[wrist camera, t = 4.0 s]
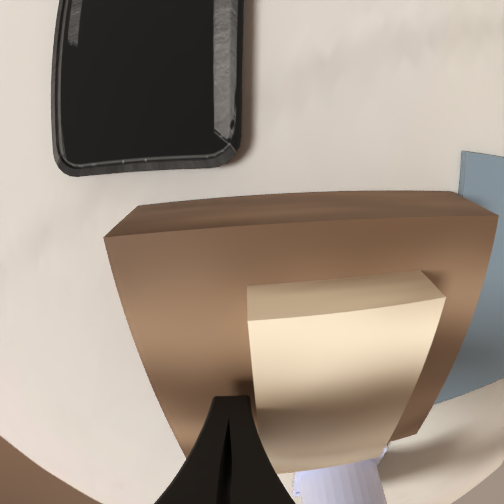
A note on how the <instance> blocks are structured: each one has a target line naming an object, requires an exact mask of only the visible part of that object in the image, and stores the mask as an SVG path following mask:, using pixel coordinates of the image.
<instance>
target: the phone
mask: <svg viewBox="0 0 504 504" xmlns="http://www.w3.org/2000/svg"><path fill="white" fill-rule="evenodd" d="M243 6H244V0H59V6H58V12H57V19H56V27H55V35H54V45H53V58H52V77H51V123H52V143H53V154H54V159H55V162H56V164H57V166H58V167H59V169H60V170H61V171H62V172H63V173H65V174H67V175H69V176H74V177H80V176H89V175H99V174H110V173H122V172H135V171H151V170H169V169H196V168H213V167H219V166H221V165H223V164H225V163H227V162H228V161H229V160H230V159H231V158H232V157H233V156H234V155H235V154H236V152H237V150H238V148H239V146H240V141H241V136H242V58H243Z"/></svg>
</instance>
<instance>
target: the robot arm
mask: <svg viewBox="0 0 504 504" xmlns="http://www.w3.org/2000/svg"><path fill="white" fill-rule="evenodd" d="M387 449H388V447H387V445H386V447H385V448H384V450H383V452H382V454H381V455H380V457H376V458H372V459H368V460H364V461H359V462H354V463H350V464H345V465H339V466H334V467H328V468H322V469H315V470H308V471H300V472H295V478H294V486H293V493H292V494H293V496H294V497H299V496H301V497H302V504H387V501H386V498H385V494H384V491H383V487H382V483H381V480H380V477H379V473H378V470H377V466H378V464H379V462H380V461H381V459H382V458H383V456H384V454H385V453H386V451H387ZM154 504H295V502H294V501H293V499H292V498H291V497H290V495H289V494H288V492H287V491H286V489H285V487H284V486H283V484H282V483H281V481H280V479H279V477H278V476H277V474H276V472H275V470H274V468H273V466H272V464H271V462H270V460H269V458H268V456H267V454H266V452H265V450H264V447H263V445H262V442H261V440H260V437H259V435H258V432H257V429H256V426H255V422H254V419H253V415H252V409H251V401H250V397H249V396H248V395H238V396H215V397H213V399H212V403H211V406H210V409H209V412H208V415H207V417H206V420H205V422H204V425H203V427H202V429H201V432H200V434H199V436H198V438H197V440H196V442H195V444H194V446H193V448H192V450H191V452H190V454H189V455H188V457H187V459H186V461H185V462H184V464H183V466H182V467H181V469H180V470H179V472H178V474H177V475H176V476H175V478H174V479H173V481H172V482H171V484H170V485H169V486H168V487H167V489H166V490H165V491H164V493H163V494H162V495H161V496H160V497H159V499H158V500H157V501H156V502H155V503H154Z"/></svg>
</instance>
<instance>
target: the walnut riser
mask: <svg viewBox="0 0 504 504" xmlns="http://www.w3.org/2000/svg"><path fill="white" fill-rule="evenodd" d="M498 218H499V215H497V214H495V213H493V212H491V211H489V210H487V209H485V208H484V207H482V206H480V205H478V204H476V203H474V202H472V201H470V200H468V199H466V198H464V197H462V196H460V195H457V194H455V193H453V192H449V191H338V192H309V193H287V194H268V195H252V196H238V197H225V198H212V199H201V200H190V201H179V202H169V203H160V204H151V205H142V206H137V207H136V208H135V209H134V210H133V211H132V212H130V213H129V214H128V215H127V216H126V217H125V218H124V219H123V220H122V221H121V222H119V223H118V224H117V225H116V226H115V227H114V228H113V229H112V230H111V231H110V232H109V233H108V234H107V235H106V236H104V237H103V238H104V242H105V246H106V250H107V254H108V258H109V262H110V266H111V269H112V273H113V276H114V280H115V283H116V287H117V290H118V294H119V297H120V300H121V303H122V307H123V310H124V313H125V316H126V319H127V322H128V325H129V328H130V331H131V333H132V336H133V339H134V342H135V345H136V347H137V350H138V353H139V355H140V358H141V360H142V363H143V366H144V368H145V371H146V373H147V376H148V378H149V380H150V383H151V385H152V388H153V390H154V392H155V395H156V397H157V399H158V401H159V404H160V406H161V408H162V410H163V412H164V415H165V417H166V419H167V421H168V423H169V425H170V427H171V429H172V431H173V433H174V435H175V437H176V439H177V441H178V443H179V445H180V447H181V449H182V451H183V453H184V455H185V457H186V459H187V457H188V455H189V454H190V452H191V450H192V448H193V446H194V444H195V442H196V440H197V438H198V436H199V434H200V432H201V429H202V427H203V425H204V422H205V420H206V417H207V415H208V412H209V409H210V406H211V403H212V399H213V397H215V396H238V395H248V396H249V397H250V401H251V409H252V415H253V419H254V422H255V426H256V429H257V432H258V435H259V430H258V421H257V411H256V402H255V392H254V382H253V372H252V362H251V352H250V341H249V331H248V319H247V286H253V285H267V284H280V283H293V282H305V281H317V280H329V279H340V278H350V277H361V276H371V275H380V274H390V273H399V272H408V271H417V270H421V271H422V272H423V273H424V274H425V275H426V276H427V277H428V279H429V280H430V281H431V282H432V283H433V284H434V285H435V286H436V287H437V288H438V289H439V290H440V291H441V292H442V293H443V294H444V295H445V296H446V299H445V303H444V306H443V310H442V313H441V316H440V320H439V323H438V326H437V329H436V332H435V335H434V338H433V341H432V344H431V347H430V350H429V352H428V355H427V358H426V360H425V363H424V366H423V368H422V371H421V373H420V376H419V378H418V380H417V383H416V385H415V388H414V390H413V392H412V394H411V397H410V399H409V401H408V403H407V405H406V408H405V410H404V412H403V414H402V416H401V418H400V420H399V422H398V424H397V426H396V428H395V430H394V432H393V434H392V436H391V437H390V439H389V441H388V442H390V441H394V440H397V439H401V438H405V437H408V436H411V435H415V434H417V432H418V430H419V429H420V427H421V425H422V424H423V422H424V420H425V419H426V417H427V415H428V413H429V412H430V410H431V408H432V406H433V404H434V402H435V401H436V399H437V397H438V395H439V393H440V391H441V389H442V387H443V385H444V383H445V381H446V379H447V377H448V375H449V373H450V371H451V368H452V366H453V364H454V362H455V360H456V357H457V355H458V353H459V350H460V348H461V346H462V343H463V341H464V338H465V336H466V333H467V330H468V328H469V325H470V322H471V320H472V317H473V314H474V311H475V308H476V305H477V302H478V299H479V296H480V293H481V289H482V286H483V283H484V279H485V276H486V272H487V268H488V264H489V260H490V256H491V252H492V248H493V243H494V239H495V234H496V229H497V223H498Z"/></svg>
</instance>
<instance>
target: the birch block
mask: <svg viewBox="0 0 504 504" xmlns="http://www.w3.org/2000/svg"><path fill="white" fill-rule="evenodd" d="M445 299H446V296H445V295H444V294H443V293H442V292H441V291H440V290H439V289H438V288H437V287H436V286H435V285H434V284H433V283H432V282H431V281H430V280H429V279H428V277H427V276H426V275H425V274H424V273H423V272H422V271H421V270H417V271H408V272H399V273H390V274H380V275H371V276H361V277H350V278H340V279H329V280H317V281H305V282H293V283H280V284H267V285H253V286H247V319H248V331H249V341H250V352H251V362H252V372H253V382H254V392H255V402H256V411H257V421H258V430H259V437H260V440H261V442H262V445H263V447H264V450H265V452H266V454H267V456H268V458H269V460H270V462H271V464H272V466H273V468H274V470H275V472H276V474H281V473H291V472H300V471H308V470H315V469H322V468H328V467H334V466H339V465H345V464H350V463H354V462H359V461H364V460H368V459H372V458H376V457H380V455H381V454H382V452H383V450H384V448H385V447H386V445H387V443H388V441H389V439H390V437H391V436H392V434H393V432H394V430H395V428H396V426H397V424H398V422H399V420H400V418H401V416H402V414H403V412H404V410H405V408H406V405H407V403H408V401H409V399H410V397H411V394H412V392H413V390H414V388H415V385H416V383H417V380H418V378H419V376H420V373H421V371H422V368H423V366H424V363H425V360H426V358H427V355H428V352H429V350H430V347H431V344H432V341H433V338H434V335H435V332H436V329H437V326H438V323H439V320H440V316H441V313H442V310H443V306H444V303H445Z"/></svg>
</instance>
